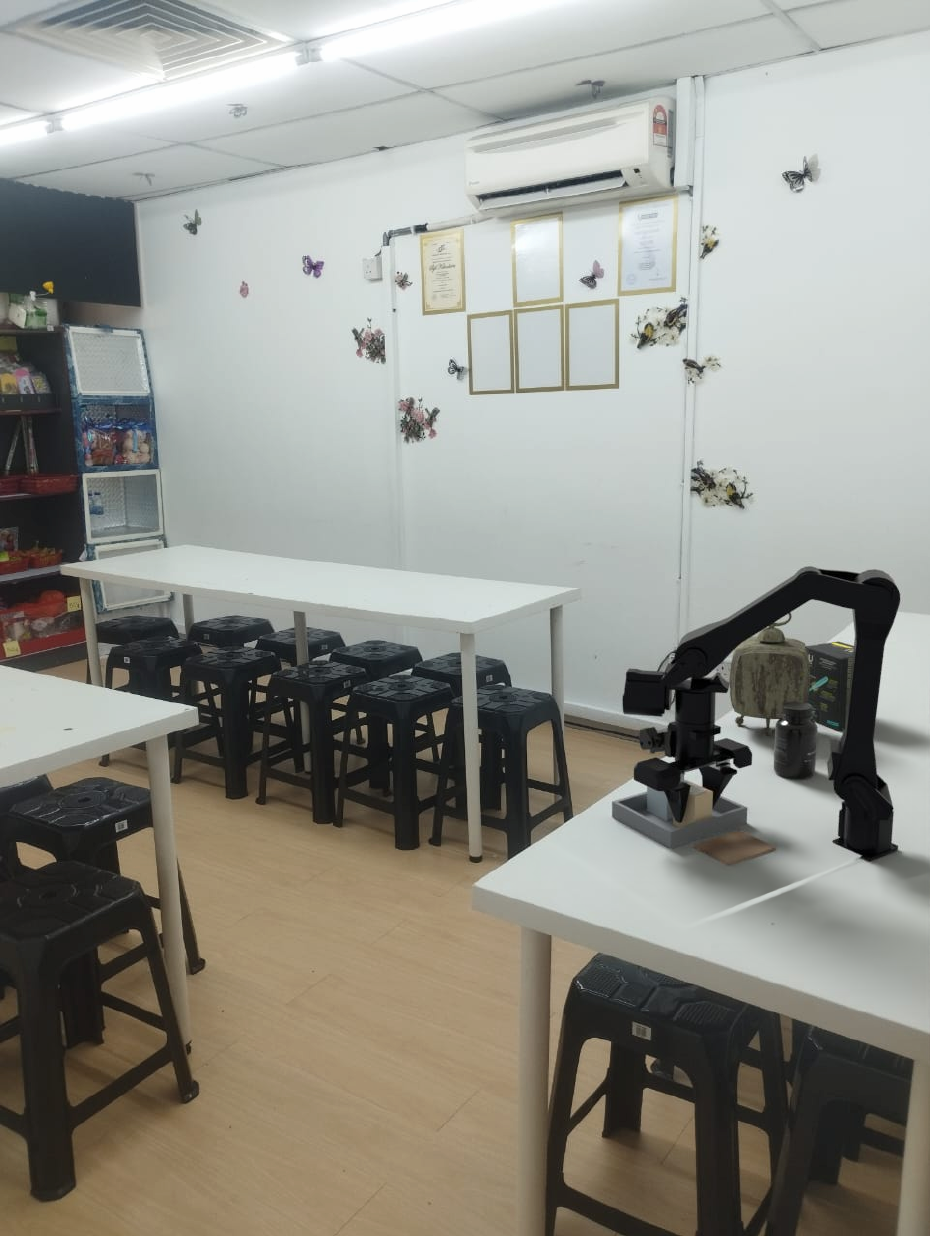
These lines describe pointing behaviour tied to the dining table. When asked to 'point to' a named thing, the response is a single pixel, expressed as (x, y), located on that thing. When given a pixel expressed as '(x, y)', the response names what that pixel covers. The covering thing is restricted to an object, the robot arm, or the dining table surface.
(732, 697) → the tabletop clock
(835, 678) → the tampon box
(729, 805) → the bin
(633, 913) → the dining table surface
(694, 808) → the carton tan
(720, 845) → the board
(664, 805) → the carton blue
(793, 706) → the supplement bottle
